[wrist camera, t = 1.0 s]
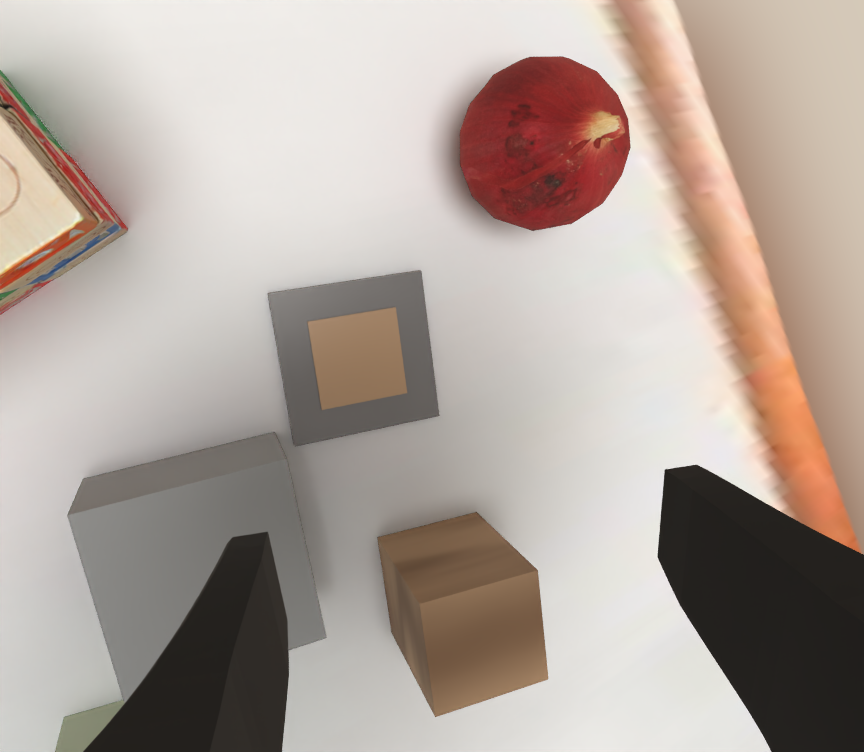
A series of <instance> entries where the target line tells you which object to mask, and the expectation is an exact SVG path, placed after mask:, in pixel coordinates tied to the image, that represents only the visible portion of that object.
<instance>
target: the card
mask: <svg viewBox="0 0 864 752" xmlns="http://www.w3.org/2000/svg"><path fill="white" fill-rule="evenodd" d="M268 298H269V304H270V310H271V316H272V321H273V327H274V333H275V339H276V345H277V350H278V356H279V362H280V368H281V373H282V379H283V385H284V391H285V397H286V402H287V408H288V414H289V420H290V425H291V431H292V437H293V443H294V446H299V445H304V444H309V443H313V442H318V441H323V440H328V439H332V438H337V437H342V436H347V435H351V434H356V433H361V432H365V431H370V430H375V429H380V428H384V427H389V426H394V425H399V424H403V423H408V422H413V421H417V420H422V419H427V418H432V417H436V416H439V410H438V402H437V394H436V386H435V378H434V370H433V362H432V354H431V346H430V338H429V330H428V322H427V314H426V306H425V298H424V290H423V282H422V273H421V271H412V272H406V273H399V274H392V275H386V276H379V277H372V278H366V279H359V280H352V281H346V282H339V283H332V284H326V285H319V286H313V287H306V288H299V289H293V290H286V291H279V292H273V293H268Z"/></svg>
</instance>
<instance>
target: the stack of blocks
mask: <svg viewBox="0 0 864 752" xmlns="http://www.w3.org/2000/svg"><path fill="white" fill-rule="evenodd" d="M127 231H128V228H127V227H126V226H125V224H124V223H123V222H122V221H121V220H120V218H119V217H118V216H117V215H116V213H115V212H114V211H113V210H112V208H111V207H110V206H109V204H108V203H107V202H106V201H105V199H104V198H103V197H102V196H101V194H100V193H99V192H98V190H97V189H96V188H95V187H94V185H93V184H92V183H91V182H90V181H89V179H88V178H87V177H86V176H85V174H84V173H83V172H82V170H81V169H80V168H79V167H78V166H77V164H76V163H75V162H74V160H73V159H72V158H71V157H70V156H69V155H67V154H66V153H65V151H64V150H63V149H62V148H61V147H60V145H59V144H58V143H57V141H56V140H55V139H54V138H53V136H52V135H51V134H50V133H49V131H48V130H47V129H46V127H45V126H44V125H43V124H42V122H41V121H40V120H39V118H38V117H37V116H36V115H35V113H34V112H33V111H32V109H31V108H30V107H29V106H28V104H27V103H26V102H25V101H24V99H23V98H22V97H21V96H20V94H19V93H18V92H17V91H16V89H15V88H14V87H13V85H12V84H11V83H10V81H9V80H8V79H7V77H6V76H5V75H4V74H3V73H2V71H1V70H0V315H1V314H2V313H4V312H5V311H6V310H8V309H9V308H11V307H12V306H14V305H15V304H17V303H18V302H20V301H22V300H23V299H25V298H26V297H28V296H29V295H31V294H32V293H34V292H35V291H37V290H38V289H40V288H41V287H43V286H44V285H46V284H47V283H49V282H50V281H52V280H54V279H55V278H57V277H60V276H61V275H63V274H64V273H66V272H67V271H69V270H70V269H72V268H73V267H75V266H76V265H78V264H79V263H81V262H82V261H84V260H85V259H87V258H88V257H90V256H92V255H93V254H95V253H96V252H98V251H99V250H101V249H102V248H104V247H105V246H107V245H108V244H110V243H111V242H113V241H114V240H116V239H117V238H119V237H120V236H122V235H123V234H125V233H126V232H127Z"/></svg>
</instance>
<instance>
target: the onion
mask: <svg viewBox="0 0 864 752" xmlns="http://www.w3.org/2000/svg"><path fill="white" fill-rule="evenodd" d="M629 150H630V136H629V125H628V118H627V116H626V113H625V111H624V109H623V106H622V104H621V102H620V99H619V97H618V95H617V93H616V92H615V91H614V90H613V89H612V88H611V87H610V86H609V84H608V83H607V82H606V81H605V80H604V79H603V78H602V77H601V76H600V74H599V73H598V72H597V71H595V70H593V69H590V68H588V67H586V66H584V65H582V64H580V63H578V62H576V61H573V60H571V59H569V58H565V57H529V58H526V59H523V60H520V61H518V62H516V63H514V64H512V65H511V66H509V67H507V68H505V69H503V70H501V71H499V72H498V73H496V74H494V75H493V76H492V78H491V79H490V80H489V82H488V83H487V84H486V85H485V87H484V88H483V89H482V90H481V91H480V93H479V94H478V95H477V96H476V97H475V98H474V100H473V101H472V102H471V103H470V105H469V107H468V110H467V113H466V116H465V119H464V122H463V125H462V128H461V130H460V166H461V168H462V171H463V174H464V176H465V179H466V182H467V184H468V187H469V190H470V192H471V195H472V197H473V198H474V199H475V200H476V201H477V202H479V203H480V204H481V205H482V206H483V207H484V208H485V209H486V210H487V211H488V212H489V213H490V214H491V215H492V216H493V217H494V218H495V219H498V220H501V221H504V222H507V223H510V224H514V225H517V226H520V227H523V228H526V229H529V230H532V231H534V230H539V229H545V228H550V227H556V226H561V225H567V224H572V223H573V222H575V221H577V220H578V219H580V218H581V217H583V216H584V215H586V214H587V213H589V212H590V211H592V210H593V209H595V208H596V207H598V206H599V205H601V204H602V203H603V202H604V201H605V199H606V198H607V196H608V195H609V194H610V192H611V191H612V189H613V188H614V186H615V185H616V183H617V182H618V180H619V179H620V177H621V175H622V173H623V170H624V167H625V163H626V160H627V157H628V154H629Z"/></svg>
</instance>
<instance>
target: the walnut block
mask: <svg viewBox="0 0 864 752" xmlns="http://www.w3.org/2000/svg"><path fill="white" fill-rule="evenodd" d="M377 538H378V545H379V552H380V558H381V565H382V572H383V578H384V585H385V592H386V598H387V605H388V612H389V618H390V625H391V632H392V634H393V636H394V638H395V640H396V642H397V644H398V646H399V648H400V650H401V652H402V654H403V655H404V657H405V659H406V661H407V663H408V665H409V667H410V669H411V671H412V673H413V675H414V677H415V679H416V681H417V683H418V684H419V686H420V688H421V690H422V692H423V694H424V696H425V698H426V700H427V702H428V704H429V706H430V708H431V710H432V712H433V713H434V715H435V717H437V716H440V715H443V714H446V713H449V712H452V711H455V710H458V709H461V708H464V707H467V706H470V705H473V704H476V703H479V702H482V701H485V700H488V699H491V698H494V697H497V696H500V695H503V694H506V693H509V692H512V691H515V690H518V689H521V688H524V687H527V686H530V685H533V684H535V683H538V682H541V681H544V680H547V679H548V671H547V660H546V650H545V640H544V630H543V620H542V609H541V599H540V589H539V579H538V570H537V569H536V568H535V567H534V566H533V565H532V564H531V563H530V562H529V561H527V560H526V559H525V558H524V557H523V556H522V555H521V554H520V553H519V552H518V551H517V550H516V549H515V548H514V547H513V546H512V545H511V544H510V543H508V542H507V541H506V540H505V539H504V538H503V537H502V536H501V535H500V534H499V533H498V532H497V531H496V530H495V529H494V528H493V527H492V526H491V525H490V524H488V523H487V522H486V521H485V520H484V519H483V518H482V517H481V516H480V515H479V514H478V513H477V512H475V513H471V514H467V515H463V516H459V517H455V518H451V519H447V520H444V521H440V522H436V523H432V524H428V525H424V526H420V527H416V528H412V529H408V530H404V531H400V532H397V533H393V534H389V535H385V536H381V537H377Z"/></svg>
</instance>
